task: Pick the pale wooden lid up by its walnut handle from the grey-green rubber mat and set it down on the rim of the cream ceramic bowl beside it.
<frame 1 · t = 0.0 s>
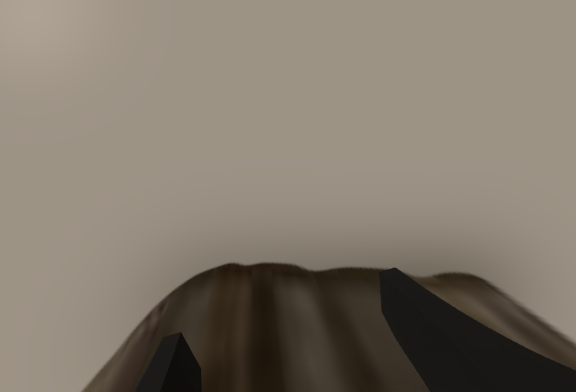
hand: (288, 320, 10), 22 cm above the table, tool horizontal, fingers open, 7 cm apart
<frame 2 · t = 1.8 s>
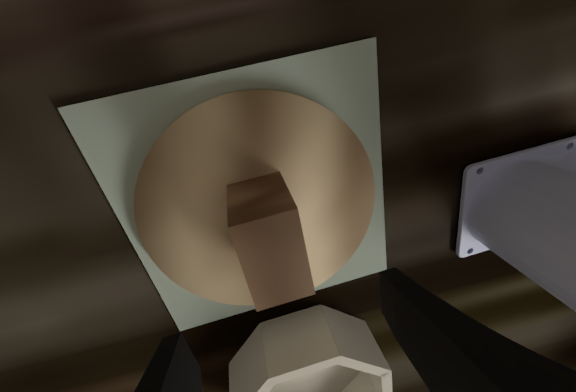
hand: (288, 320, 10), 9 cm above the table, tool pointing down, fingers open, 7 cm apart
bowl: (303, 359, 26), on the table
lid: (261, 208, 18), resting on mat
mat: (261, 205, 18), on the table
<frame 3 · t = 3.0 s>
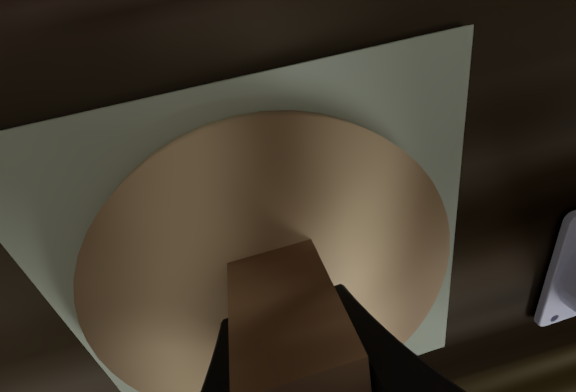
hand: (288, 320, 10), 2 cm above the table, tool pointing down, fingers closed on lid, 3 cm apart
lid: (279, 283, 12), resting on mat, touching gripper
mat: (277, 277, 12), on the table
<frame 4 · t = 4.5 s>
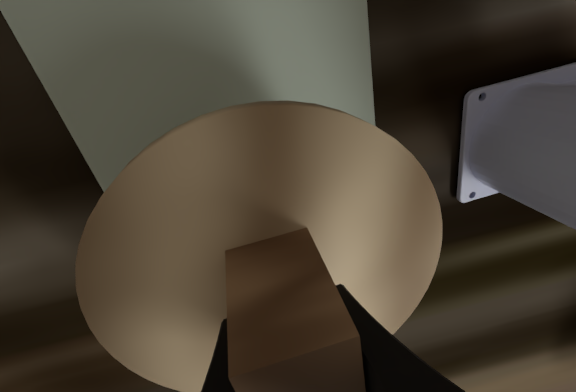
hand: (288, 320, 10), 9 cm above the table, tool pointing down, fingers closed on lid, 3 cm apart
lid: (276, 271, 12), point 7 cm above the table, touching gripper
mat: (238, 132, 17), on the table
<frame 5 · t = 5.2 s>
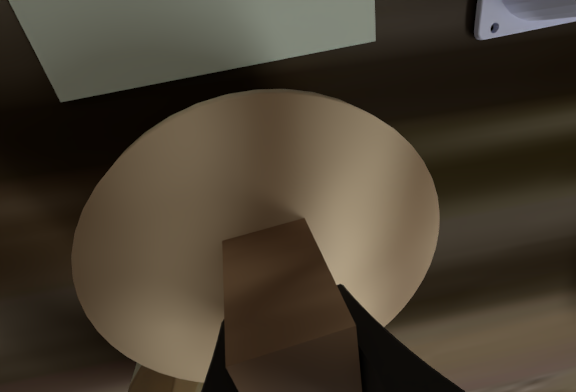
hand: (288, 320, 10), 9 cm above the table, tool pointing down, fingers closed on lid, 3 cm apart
skincare box: (189, 345, 23), on the table
lid: (273, 261, 12), point 7 cm above the table, touching gripper
when the fingers open (8 cm above the table, at t = 5.8 s): lid stays where it is, resting on bowl.
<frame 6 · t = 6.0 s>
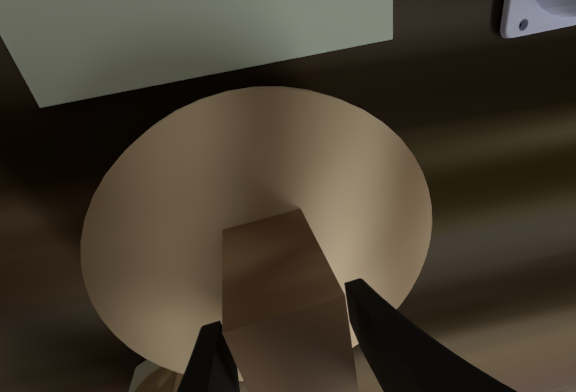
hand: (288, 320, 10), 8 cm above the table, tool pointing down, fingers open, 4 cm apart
skincare box: (187, 366, 22), on the table
lid: (272, 254, 13), point 4 cm above the table, touching bowl
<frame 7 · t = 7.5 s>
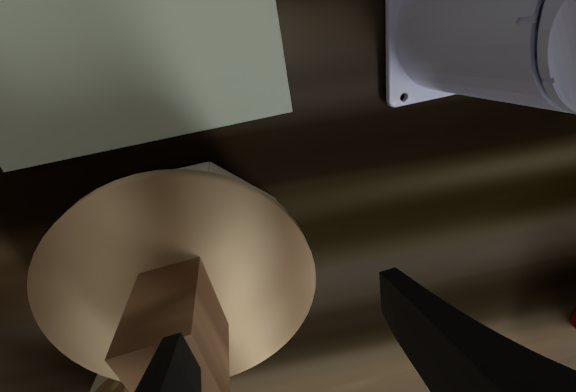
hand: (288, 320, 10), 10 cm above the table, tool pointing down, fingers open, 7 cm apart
bowl: (198, 248, 20), on the table
skincare box: (144, 372, 25), on the table
lid: (189, 287, 16), point 4 cm above the table, touching bowl
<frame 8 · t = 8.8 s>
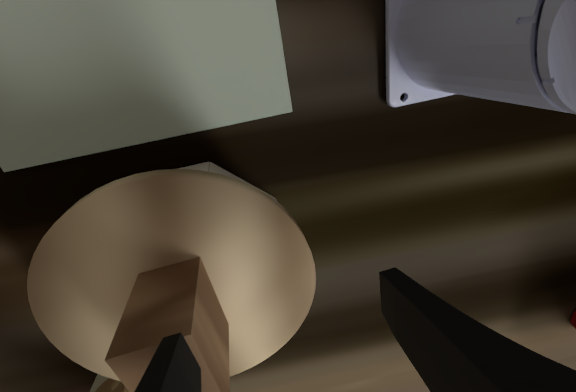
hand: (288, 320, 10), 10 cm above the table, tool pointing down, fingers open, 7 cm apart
bowl: (198, 248, 20), on the table
skincare box: (144, 372, 25), on the table
lid: (189, 287, 16), point 4 cm above the table, touching bowl
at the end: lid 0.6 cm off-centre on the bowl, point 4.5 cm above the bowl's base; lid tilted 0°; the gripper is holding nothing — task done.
